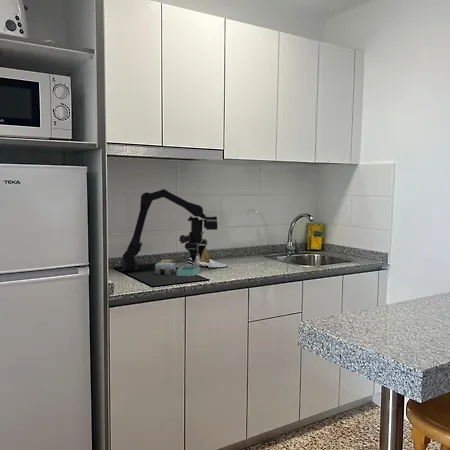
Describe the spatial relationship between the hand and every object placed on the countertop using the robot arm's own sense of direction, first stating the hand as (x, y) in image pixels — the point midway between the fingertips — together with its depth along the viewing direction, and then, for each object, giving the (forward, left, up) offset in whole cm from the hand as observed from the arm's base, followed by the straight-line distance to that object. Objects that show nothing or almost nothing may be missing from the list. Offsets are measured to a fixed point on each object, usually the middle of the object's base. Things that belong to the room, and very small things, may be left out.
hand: (196, 260), depth 228 cm
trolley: (-11, -14, -5) cm, 18 cm away
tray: (0, -12, -5) cm, 13 cm away
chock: (-13, -4, -5) cm, 15 cm away
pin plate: (0, 0, -5) cm, 5 cm away
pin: (0, 0, -5) cm, 5 cm away
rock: (-3, +18, -5) cm, 19 cm away
